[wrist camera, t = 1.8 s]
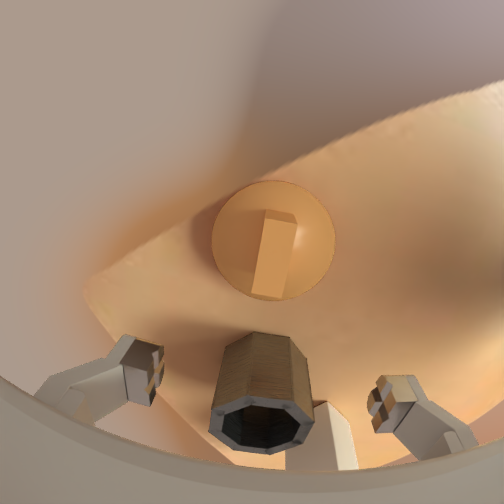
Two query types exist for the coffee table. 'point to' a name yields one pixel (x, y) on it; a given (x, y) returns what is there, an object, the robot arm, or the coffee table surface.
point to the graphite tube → (262, 396)
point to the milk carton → (324, 444)
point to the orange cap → (273, 241)
